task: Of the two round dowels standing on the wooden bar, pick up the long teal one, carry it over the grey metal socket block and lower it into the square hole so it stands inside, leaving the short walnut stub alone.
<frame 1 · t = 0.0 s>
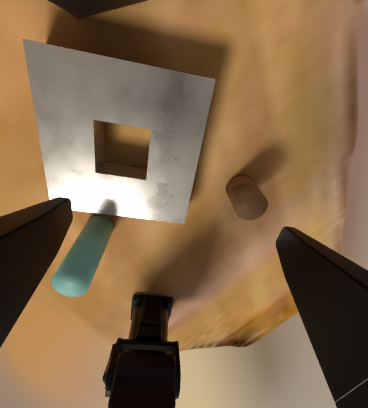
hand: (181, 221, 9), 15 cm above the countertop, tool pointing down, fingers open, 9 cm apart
socket: (128, 143, 22), on the countertop
long peg: (100, 225, 27), on the countertop
short peg: (239, 187, 25), on the countertop
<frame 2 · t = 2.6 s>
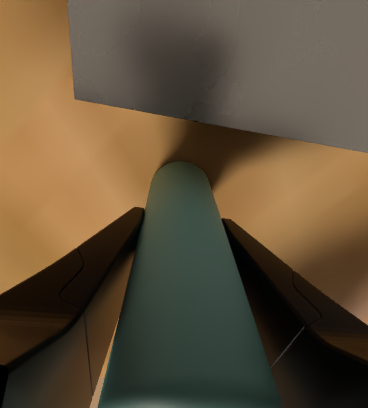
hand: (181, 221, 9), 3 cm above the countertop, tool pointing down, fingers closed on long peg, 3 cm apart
long peg: (180, 189, 11), on the countertop, touching gripper
when the fingers open (4 cm above the countertop, at t = 6.7 s): long peg stays where it is, resting in socket.
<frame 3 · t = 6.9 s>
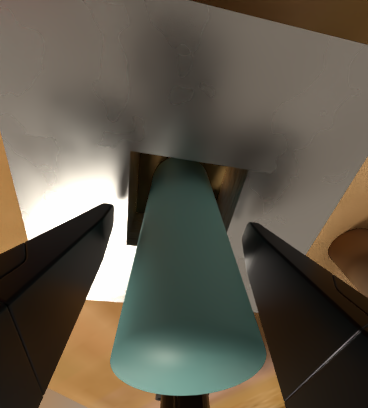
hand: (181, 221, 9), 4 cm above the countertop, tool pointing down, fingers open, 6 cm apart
socket: (180, 183, 12), on the countertop
long peg: (180, 182, 12), resting in socket
short peg: (351, 246, 15), on the countertop
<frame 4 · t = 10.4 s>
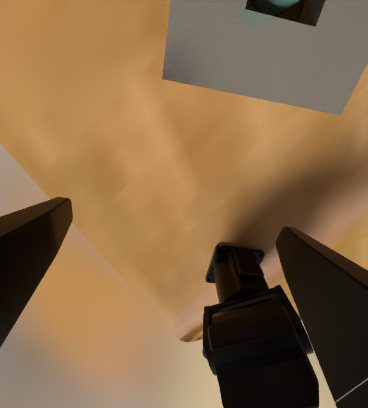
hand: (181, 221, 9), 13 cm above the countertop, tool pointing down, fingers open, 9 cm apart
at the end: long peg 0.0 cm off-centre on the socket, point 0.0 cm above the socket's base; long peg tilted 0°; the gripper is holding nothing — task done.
